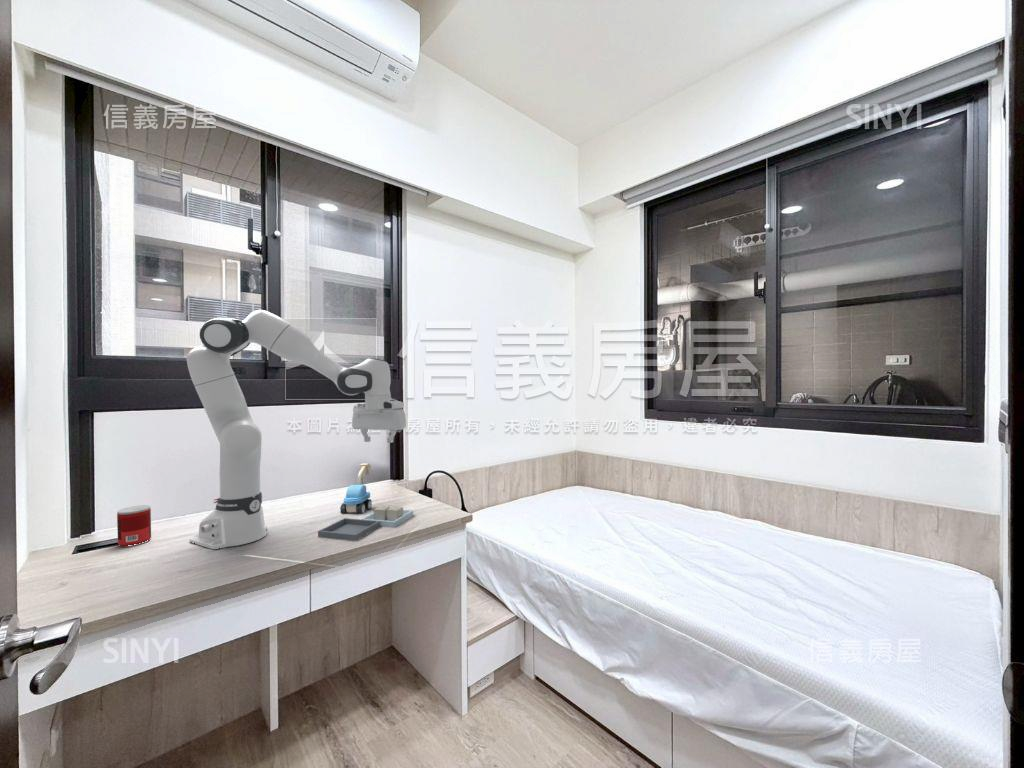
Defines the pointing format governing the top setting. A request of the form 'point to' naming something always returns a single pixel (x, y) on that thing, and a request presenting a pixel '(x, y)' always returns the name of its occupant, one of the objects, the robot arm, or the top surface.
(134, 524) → the canned food
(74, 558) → the top surface
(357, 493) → the toy excavator
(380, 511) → the tan cube
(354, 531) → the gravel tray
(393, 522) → the blue tray
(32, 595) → the top surface
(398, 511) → the grey cube
